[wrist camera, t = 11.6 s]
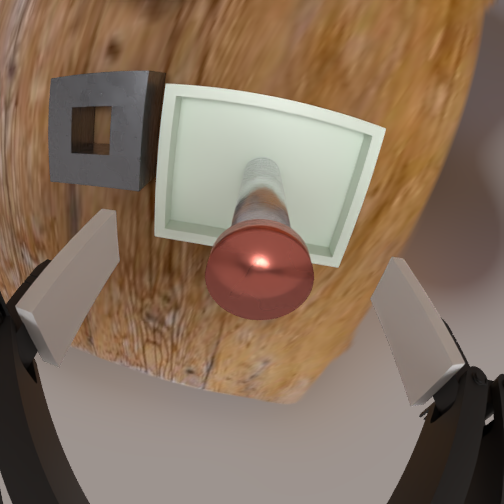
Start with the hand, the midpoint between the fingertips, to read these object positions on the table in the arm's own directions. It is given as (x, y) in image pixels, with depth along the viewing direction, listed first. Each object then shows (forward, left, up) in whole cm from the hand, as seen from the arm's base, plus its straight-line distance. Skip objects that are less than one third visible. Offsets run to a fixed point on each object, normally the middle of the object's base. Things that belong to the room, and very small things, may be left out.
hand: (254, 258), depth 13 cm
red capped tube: (0, 0, -14) cm, 14 cm away
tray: (0, 0, -14) cm, 14 cm away
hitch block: (-15, +3, -14) cm, 21 cm away
